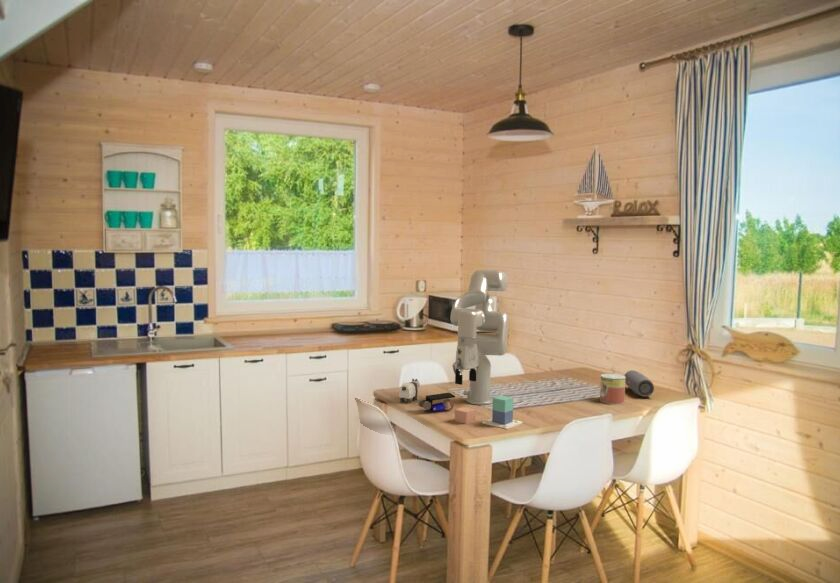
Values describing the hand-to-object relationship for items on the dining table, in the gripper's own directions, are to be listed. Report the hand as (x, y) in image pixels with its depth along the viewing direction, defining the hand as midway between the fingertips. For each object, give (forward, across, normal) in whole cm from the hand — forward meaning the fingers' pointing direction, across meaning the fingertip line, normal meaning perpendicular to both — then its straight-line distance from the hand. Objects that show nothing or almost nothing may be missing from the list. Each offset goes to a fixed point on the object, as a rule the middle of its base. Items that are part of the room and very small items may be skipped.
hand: (465, 382), depth 268 cm
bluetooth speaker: (+15, +100, -34) cm, 106 cm away
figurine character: (+16, +5, +18) cm, 25 cm away
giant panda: (+16, +12, +39) cm, 44 cm away
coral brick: (+16, +1, 0) cm, 16 cm away
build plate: (+16, +9, -13) cm, 22 cm away
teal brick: (+11, +9, -13) cm, 19 cm away
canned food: (+15, +76, -31) cm, 83 cm away
